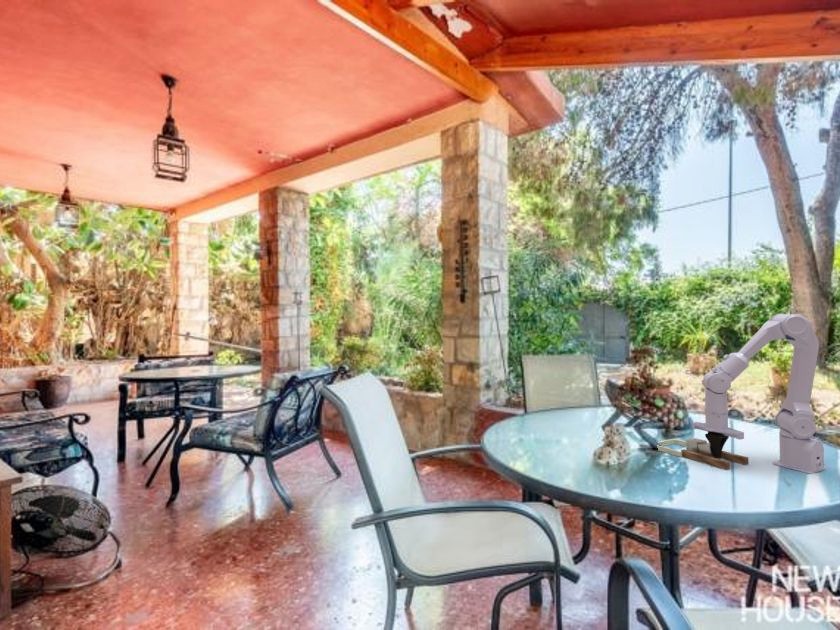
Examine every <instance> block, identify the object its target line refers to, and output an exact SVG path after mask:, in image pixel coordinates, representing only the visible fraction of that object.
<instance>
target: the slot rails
mask: <svg viewBox="0 0 840 630" xmlns="http://www.w3.org/2000/svg"><path fill="white" fill-rule="evenodd" d="M680 452H682V457H681V458H685V459H689V460H691V461H695V462H697V463H698V462H699V463H701V464H705V465H709V466H712V467H715V468H718V469H723V470H725V471H729V470H730V469H731V462H732V463H733V462H734V463H736V464H739V465H744V466H748V465H749V464H750V462H749V461H750V460H749V457H747V456H744V455H740V454H736V453H732V452H730V451H726V450H722V454H721V459H717V458H713V457H710V456H706V455H703V454H699V453H696V452H692V451H689V450H686V449H685V448H683V449H681V451H680Z"/></svg>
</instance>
